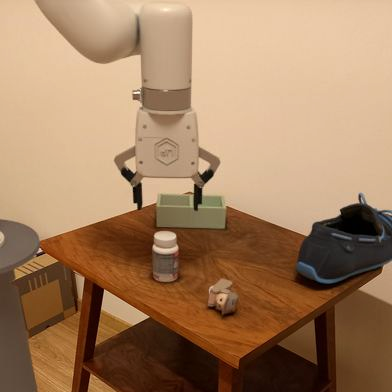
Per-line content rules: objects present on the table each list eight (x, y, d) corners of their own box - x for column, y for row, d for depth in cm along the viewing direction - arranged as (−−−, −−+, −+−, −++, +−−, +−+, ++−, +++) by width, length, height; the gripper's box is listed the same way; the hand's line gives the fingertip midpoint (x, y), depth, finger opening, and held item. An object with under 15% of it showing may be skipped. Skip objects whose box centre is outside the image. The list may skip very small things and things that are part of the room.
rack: (156, 227, 115) (156, 206, 112) (157, 213, 121) (157, 193, 118) (224, 228, 115) (226, 208, 113) (222, 215, 122) (224, 195, 119)
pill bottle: (179, 282, 95) (180, 240, 90) (154, 283, 94) (153, 241, 89) (176, 270, 99) (177, 229, 94) (152, 271, 98) (151, 230, 93)
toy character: (198, 289, 84) (232, 301, 82) (216, 274, 90) (247, 284, 89) (194, 311, 86) (227, 323, 84) (212, 294, 92) (243, 305, 91)
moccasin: (415, 250, 113) (434, 197, 106) (353, 302, 89) (373, 239, 82) (356, 230, 119) (371, 179, 112) (283, 275, 95) (297, 213, 89)
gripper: (107, 103, 75) (115, 215, 85) (224, 105, 76) (219, 216, 86) (112, 93, 81) (119, 199, 91) (221, 95, 82) (216, 200, 92)
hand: (167, 207), depth 88 cm, fingers open, 9 cm apart
